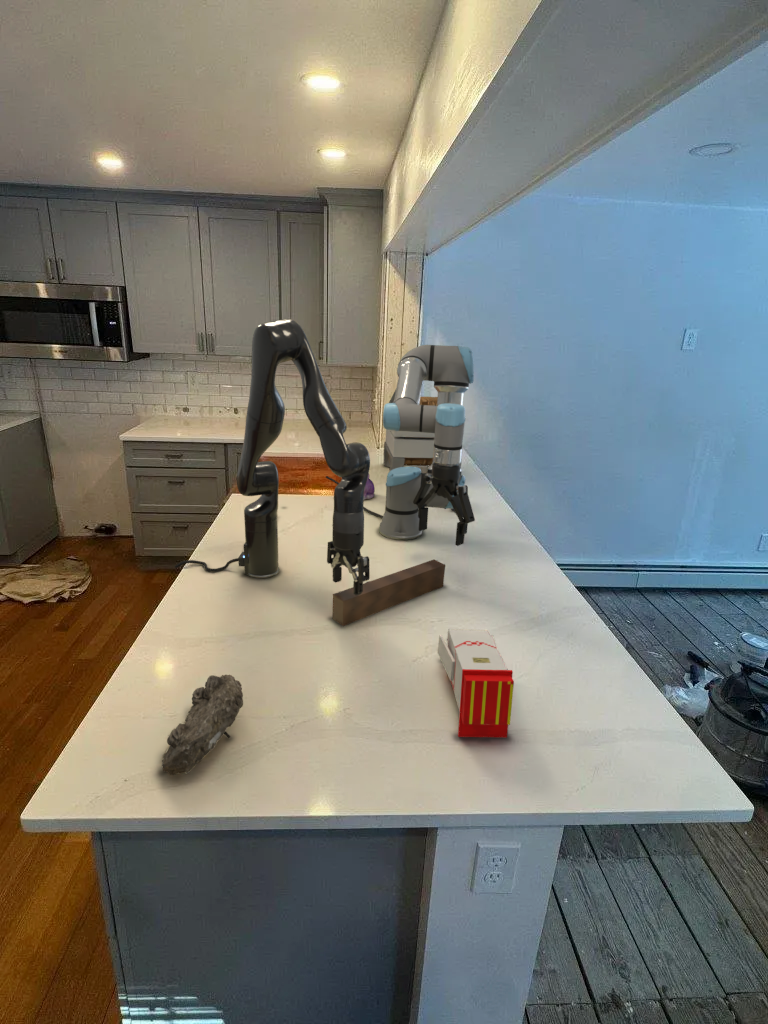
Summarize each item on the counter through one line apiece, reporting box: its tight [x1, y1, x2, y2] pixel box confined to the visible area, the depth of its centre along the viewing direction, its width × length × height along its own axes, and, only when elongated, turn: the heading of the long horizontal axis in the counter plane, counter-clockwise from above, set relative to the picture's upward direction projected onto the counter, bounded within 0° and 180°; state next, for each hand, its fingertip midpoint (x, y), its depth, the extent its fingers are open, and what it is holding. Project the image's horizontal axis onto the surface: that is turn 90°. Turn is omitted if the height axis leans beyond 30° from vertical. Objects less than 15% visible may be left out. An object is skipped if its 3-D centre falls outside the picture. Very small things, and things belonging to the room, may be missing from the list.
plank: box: [331, 559, 446, 627], centre depth 152 cm, size 36×4×7 cm, turn 131°
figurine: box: [364, 472, 376, 501], centre depth 234 cm, size 9×10×15 cm
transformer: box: [383, 389, 463, 472], centre depth 268 cm, size 34×33×41 cm
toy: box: [437, 628, 515, 738], centre depth 117 cm, size 12×13×30 cm
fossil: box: [161, 674, 244, 776], centre depth 102 cm, size 22×10×15 cm
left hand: (347, 587), depth 141 cm, fingers open, 8 cm apart
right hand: (440, 537), depth 158 cm, fingers open, 13 cm apart
